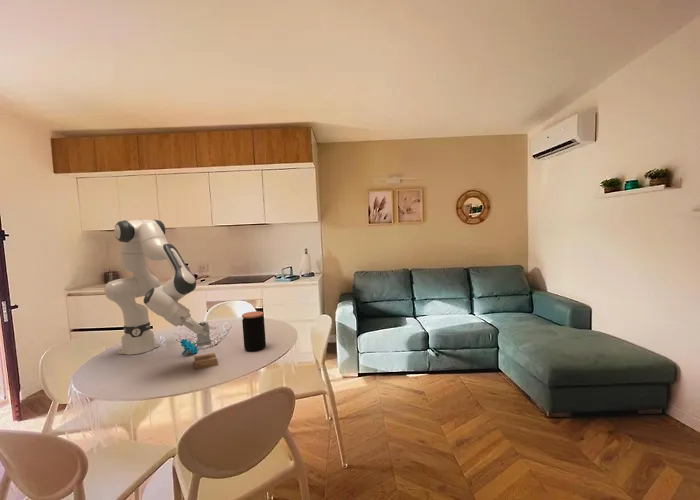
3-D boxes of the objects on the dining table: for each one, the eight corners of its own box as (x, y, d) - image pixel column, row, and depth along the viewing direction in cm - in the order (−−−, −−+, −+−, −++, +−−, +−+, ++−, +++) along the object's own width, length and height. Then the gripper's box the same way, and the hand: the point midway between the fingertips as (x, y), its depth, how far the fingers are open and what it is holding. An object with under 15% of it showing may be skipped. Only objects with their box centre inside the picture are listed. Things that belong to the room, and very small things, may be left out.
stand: (193, 362, 166) (192, 356, 166) (216, 358, 170) (215, 352, 170) (194, 370, 157) (193, 363, 157) (218, 365, 161) (217, 358, 161)
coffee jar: (265, 343, 188) (262, 310, 186) (267, 350, 178) (264, 314, 176) (244, 347, 184) (241, 312, 183) (244, 353, 174) (242, 317, 173)
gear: (193, 353, 173) (178, 339, 174) (185, 362, 173) (170, 348, 174) (203, 349, 184) (189, 335, 185) (195, 357, 184) (181, 344, 185)
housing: (196, 343, 164) (194, 322, 163) (210, 340, 167) (208, 320, 166) (197, 346, 159) (195, 325, 158) (211, 344, 161) (209, 323, 161)
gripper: (189, 313, 149) (215, 331, 155) (179, 306, 166) (203, 322, 172) (178, 326, 147) (205, 344, 153) (170, 317, 163) (194, 334, 170)
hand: (204, 332), depth 163 cm, fingers closed on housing, 5 cm apart
